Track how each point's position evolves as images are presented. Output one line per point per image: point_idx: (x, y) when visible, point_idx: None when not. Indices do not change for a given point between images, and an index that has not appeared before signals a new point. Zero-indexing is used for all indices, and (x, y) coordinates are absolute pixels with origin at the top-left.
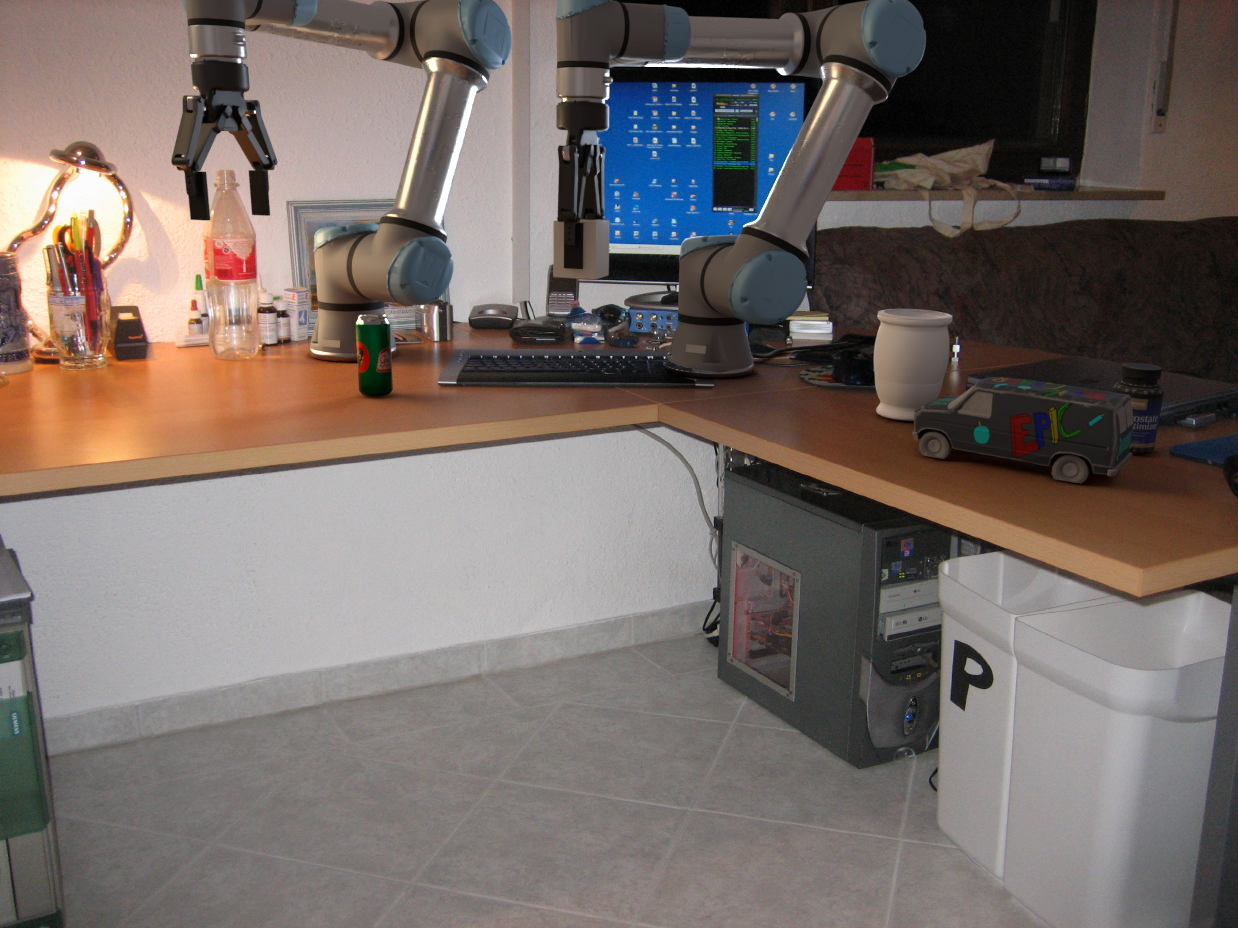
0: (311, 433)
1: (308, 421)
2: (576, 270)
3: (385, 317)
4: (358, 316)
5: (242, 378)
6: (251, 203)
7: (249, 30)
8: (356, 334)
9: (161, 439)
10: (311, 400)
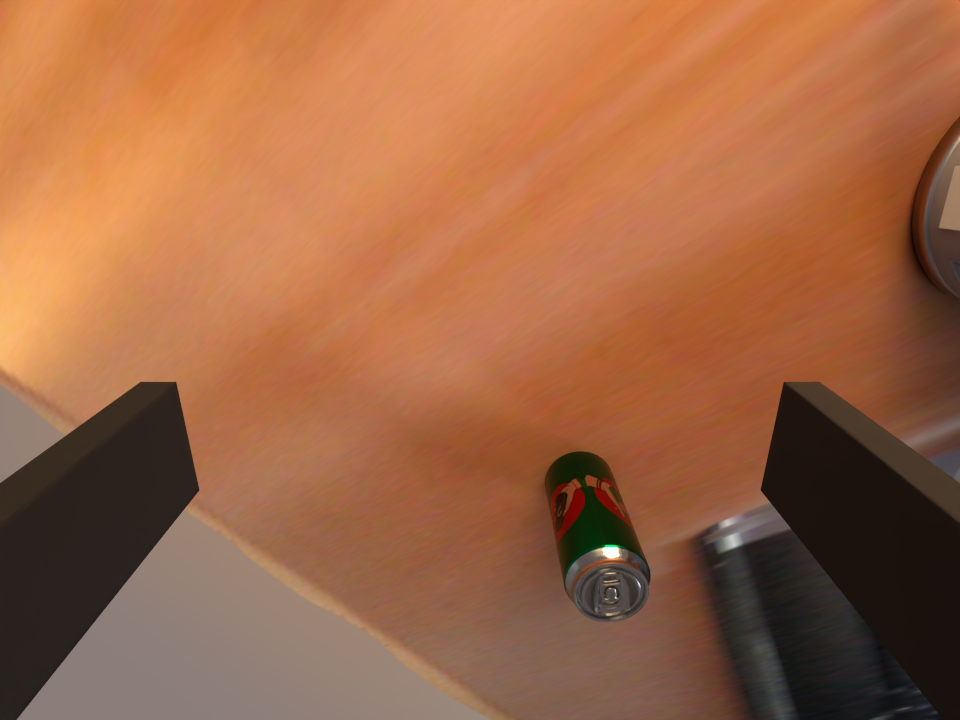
0: (282, 516)
1: (345, 472)
2: None
3: (608, 620)
4: (586, 573)
5: (645, 101)
6: (832, 421)
7: None
8: (575, 535)
9: (112, 328)
10: (490, 391)
